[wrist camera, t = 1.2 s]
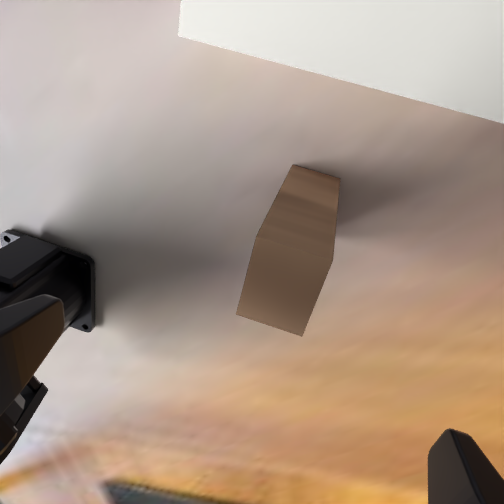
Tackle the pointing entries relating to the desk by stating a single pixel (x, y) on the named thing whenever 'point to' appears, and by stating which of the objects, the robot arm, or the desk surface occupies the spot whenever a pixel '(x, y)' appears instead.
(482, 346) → the desk surface
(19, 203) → the desk surface
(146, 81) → the desk surface
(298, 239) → the walnut peg
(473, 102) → the block
